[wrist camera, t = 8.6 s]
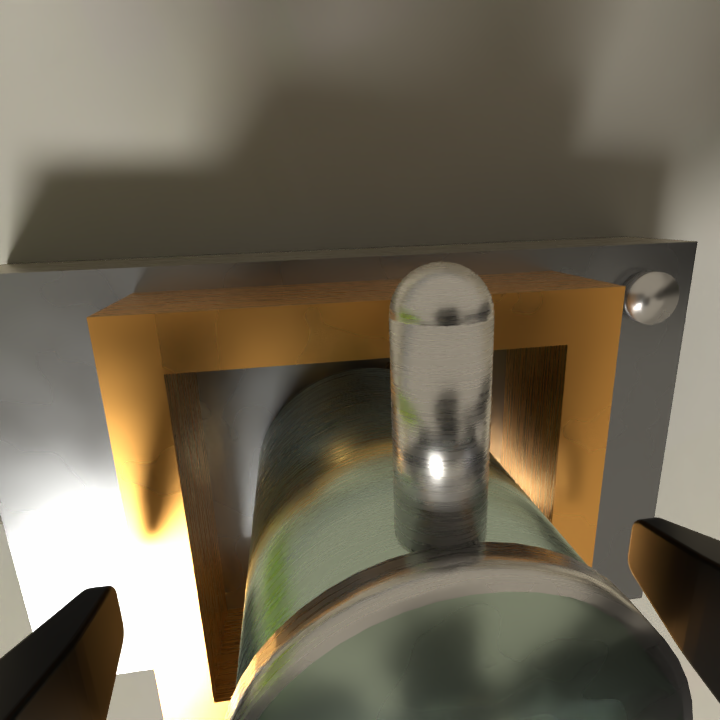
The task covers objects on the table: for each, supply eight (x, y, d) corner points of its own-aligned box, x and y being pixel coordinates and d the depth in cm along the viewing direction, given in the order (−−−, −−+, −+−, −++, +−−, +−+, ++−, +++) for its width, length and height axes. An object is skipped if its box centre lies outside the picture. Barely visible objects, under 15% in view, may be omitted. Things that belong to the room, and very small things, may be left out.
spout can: (475, 228, 11) (787, 254, 4) (467, 546, 13) (659, 895, 6) (226, 241, 10) (113, 296, 3) (265, 573, 12) (242, 993, 6)
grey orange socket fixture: (626, 236, 14) (805, 249, 9) (590, 543, 17) (712, 673, 12) (-89, 268, 12) (-347, 306, 7) (12, 617, 14) (-123, 816, 10)
